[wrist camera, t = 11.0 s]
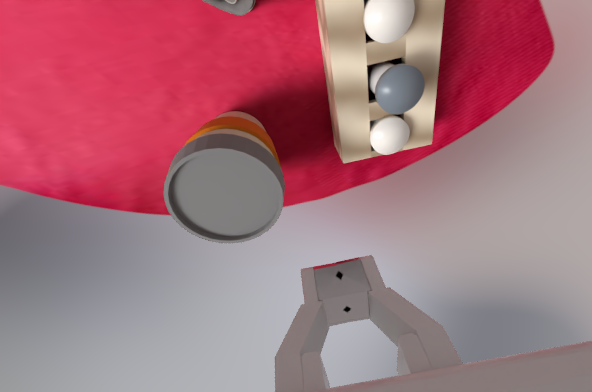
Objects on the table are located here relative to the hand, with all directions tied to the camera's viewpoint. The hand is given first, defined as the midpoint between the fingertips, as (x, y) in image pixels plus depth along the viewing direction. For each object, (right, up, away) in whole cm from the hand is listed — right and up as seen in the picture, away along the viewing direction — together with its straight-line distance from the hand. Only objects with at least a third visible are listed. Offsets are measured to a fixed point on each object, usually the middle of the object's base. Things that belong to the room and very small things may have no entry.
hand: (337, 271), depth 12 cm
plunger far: (+9, +14, +29) cm, 33 cm away
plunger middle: (+8, +18, +22) cm, 30 cm away
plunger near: (+7, +25, +21) cm, 33 cm away
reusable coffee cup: (-10, +11, +29) cm, 33 cm away
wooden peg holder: (+8, +20, +25) cm, 33 cm away
